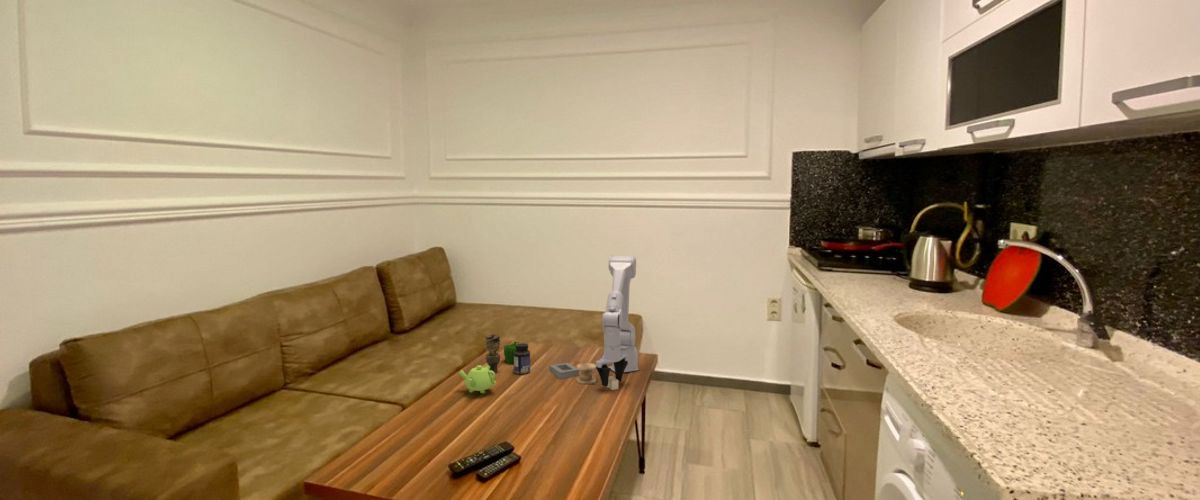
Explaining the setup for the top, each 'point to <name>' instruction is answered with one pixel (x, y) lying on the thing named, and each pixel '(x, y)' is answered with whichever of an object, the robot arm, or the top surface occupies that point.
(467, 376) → the teapot
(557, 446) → the top surface
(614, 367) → the robot arm
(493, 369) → the dark carved statue
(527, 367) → the pill bottle
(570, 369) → the board with rectangular hole
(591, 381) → the bobbin
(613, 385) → the rectangular block
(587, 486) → the top surface
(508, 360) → the bell pepper
